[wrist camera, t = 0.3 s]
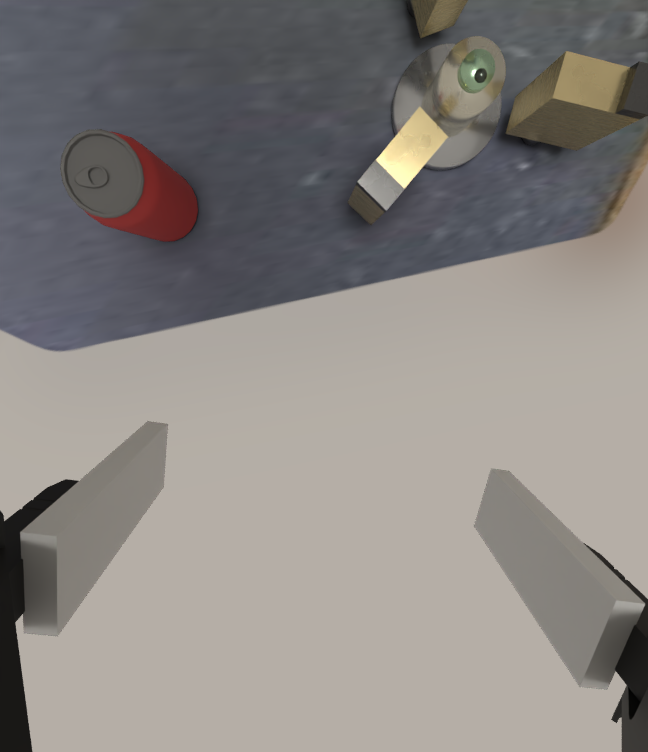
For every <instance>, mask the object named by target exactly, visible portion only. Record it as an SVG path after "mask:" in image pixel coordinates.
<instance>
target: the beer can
mask: <svg viewBox="0 0 648 752" xmlns="http://www.w3.org/2000/svg"><path fill="white" fill-rule="evenodd" d="M60 170H61V176H62V181H63V184H64V186H65V188H66V190H67V192H68V194H69V196H70V197H71V198H72V200H73V201H74V202H75V203H76V204H77V205H78V206H79V207H80V208H82V209H83V210H84V211H85V212H86V213H87V214H88V215H89V216H91V217H92V218H94V219H95V220H97V221H98V222H100V223H101V224H103V225H104V226H108V227H111V228H115V229H118V230H122V231H126V232H129V233H133V234H137V235H141V236H144V237H148V238H152V239H156V240H159V241H163V242H164V241H175V240H178V239H180V238H183V237H184V236H185V235H186V234H187V233H189V232H190V231H191V229H192V227H193V226H194V224H195V222H196V218H197V213H198V206H197V199H196V196H195V194H194V191H193V189H192V187H191V186H190V185H189V184H188V182H187V181H186V180H185V179H184V178H183V177H182V176H180V175H179V174H178V173H177V172H175V171H174V170H173V169H172V168H170V167H169V166H168V165H167V164H166V163H164V162H163V161H162V160H161V159H159V158H158V157H157V156H156V155H154V154H153V153H152V152H151V151H149V150H148V149H147V148H146V147H144V146H143V145H142V144H140V143H139V142H137V141H136V140H134V139H133V138H131V137H128V136H125V135H122V134H118V133H115V132H108V131H105V130H102V129H98V130H86V131H84V132H82V133H79V134H77V135H76V136H75V137H74V138H73V139H72V140H70V141H69V142H68V143H67V145H66V147H65V150H64V152H63V154H62V158H61V167H60Z"/></svg>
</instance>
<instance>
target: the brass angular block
mask: <svg viewBox="0 0 648 752" xmlns="http://www.w3.org/2000/svg"><path fill="white" fill-rule="evenodd" d="M646 116H648V64H647V63H643V62H638V63H636V64H635V65H633V66H632V67H626V66H622V65H618V64H614V63H610V62H606V61H603V60H599V59H595V58H591V57H587V56H583V55H579V54H576V53H572V52H568V51H566V52H565V53H564V54H563V55H561V56H560V57H559V58H558V59H557V60H556V61H555V62H554V63H553V64H551V65H550V66H549V67H548V68H547V69H546V70H545V71H544V72H543V73H541V74H540V75H539V76H538V77H537V78H536V79H535V80H534V81H533V82H531V83H530V84H529V85H528V86H527V87H526V88H525V89H524V90H523V91H522V92H520V93H519V94H518V95H517V96H516V97H515V101H514V104H513V108H512V112H511V116H510V119H509V123H508V127H507V130H506V134H509V135H513V136H518V137H522V138H526V139H530V140H534V141H539V142H543V143H547V144H551V145H555V146H560V147H564V148H568V149H572V150H576V151H577V150H579V149H581V148H583V147H585V146H587V145H589V144H591V143H593V142H595V141H597V140H599V139H601V138H603V137H605V136H607V135H609V134H611V133H613V132H615V131H617V130H619V129H621V128H623V127H625V126H627V125H630V124H632V123H634V122H636V121H638V120H640V119H642V118H644V117H646Z"/></svg>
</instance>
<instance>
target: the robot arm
mask: <svg viewBox="0 0 648 752" xmlns="http://www.w3.org/2000/svg"><path fill="white" fill-rule="evenodd" d="M167 430H168V424H164V423H156V422H149V421H148V422H146V423H145V424H144V425H143V426H142V427H141V428H140V429H138V430H137V431H136V432H135V433H134V434H133V435H131V436H130V437H129V438H128V439H127V440H126V441H125V442H123V443H122V444H121V445H120V446H119V447H118V448H117V449H115V450H114V451H113V452H112V453H111V454H110V455H109V456H107V457H106V458H105V459H104V460H103V461H102V462H101V463H99V464H98V465H97V466H96V467H95V468H93V469H92V470H91V471H90V472H89V473H88V474H87V475H85V476H84V477H83V478H82V479H81V480H80V481H74V480H63V481H61V482H59V483H57V484H54V485H52V486H50V487H48V488H46V489H45V490H44V491H42V492H41V493H40V494H39V495H37V496H36V497H35V498H34V500H31V501H30V502H28V503H27V504H26V505H25V506H23V508H22V509H20V510H18V511H17V512H16V513H14V514H13V515H12V516H11V517H9V518H8V519H7V520H6V521H4V516H3V514H2V512H1V511H0V752H32V746H31V738H30V731H29V723H28V716H27V708H26V701H25V693H24V686H23V679H22V671H21V663H20V655H19V648H18V640H17V633H16V625H15V622H16V621H17V620H18V618H19V617H20V616H21V615H22V614H23V623H24V633H28V634H38V635H48V636H58V635H59V633H60V632H61V631H62V629H63V628H64V627H65V625H66V624H67V622H68V621H69V620H70V618H71V617H72V615H73V614H74V612H75V611H76V610H77V608H78V607H79V606H80V604H81V603H82V601H83V600H84V598H85V597H86V596H87V594H88V593H89V591H90V590H91V589H92V587H93V586H94V584H95V583H96V581H97V580H98V579H99V577H100V576H101V575H102V573H103V572H104V570H105V569H106V568H107V566H108V565H109V563H110V562H111V560H112V559H113V558H114V556H115V555H116V553H117V552H118V551H119V549H120V548H121V546H122V545H123V544H124V542H125V541H126V539H127V538H128V537H129V535H130V534H131V532H132V531H133V529H134V528H135V527H136V525H137V524H138V522H139V521H140V520H141V518H142V517H143V515H144V514H145V513H146V511H147V510H148V508H149V507H150V506H151V504H152V503H153V501H154V500H155V499H156V497H157V496H158V494H159V493H160V492H161V490H162V489H163V487H164V474H165V458H166V445H167ZM474 527H475V528H476V530H477V531H478V533H479V534H480V536H481V537H482V539H483V541H484V542H485V544H486V545H487V547H488V548H489V550H490V551H491V553H492V554H493V556H494V557H495V559H496V560H497V562H498V563H499V565H500V566H501V568H502V569H503V571H504V572H505V574H506V575H507V577H508V579H509V580H510V581H511V583H512V584H513V586H514V588H515V589H516V591H517V592H518V594H519V595H520V597H521V598H522V600H523V601H524V603H525V604H526V606H527V607H528V609H529V611H530V612H531V613H532V615H533V617H534V618H535V619H536V621H537V622H538V624H539V626H540V627H541V629H542V630H543V632H544V633H545V635H546V636H547V638H548V639H549V641H550V643H551V644H552V646H553V647H554V648H555V650H556V652H557V653H558V654H559V656H560V658H561V659H562V661H563V662H564V664H565V665H566V667H567V668H568V670H569V671H570V673H571V674H572V676H573V678H574V679H575V680H576V682H577V683H578V685H579V687H586V688H596V689H608V687H609V684H610V682H611V680H612V678H613V675H614V673H615V671H616V672H617V673H618V674H619V676H620V677H621V678H622V679H623V681H624V682H625V683H626V685H627V686H626V688H625V691H624V693H623V695H622V697H621V699H620V701H619V704H618V706H617V708H616V710H615V712H614V715H613V717H612V719H611V720H613V721H614V722H616V723H617V721H618V719H619V718H620V717H622V752H648V599H647V598H646V597H645V596H644V595H643V594H642V593H641V592H640V591H639V590H638V589H636V588H635V587H634V586H633V585H632V584H631V583H630V582H629V581H628V580H625V577H624V576H623V575H622V574H621V573H620V572H619V571H618V570H616V569H614V567H613V566H612V565H611V564H610V563H609V562H608V561H607V560H606V559H605V558H604V557H603V556H602V555H600V554H599V553H598V552H596V551H595V550H593V549H592V548H590V547H589V546H587V545H586V544H584V543H582V542H581V541H580V540H579V539H578V538H577V537H576V536H575V535H574V534H573V533H572V532H571V531H570V530H569V529H568V528H567V527H566V526H565V525H564V524H563V523H562V522H561V521H560V520H559V519H558V518H557V517H556V516H555V515H554V514H553V513H552V512H551V511H550V510H548V509H547V508H546V507H545V506H544V505H543V504H542V503H541V502H540V501H539V500H538V499H537V498H536V497H535V496H534V495H533V494H532V493H531V492H530V491H529V490H528V489H527V488H526V487H525V486H524V485H523V484H522V483H521V482H520V481H519V480H518V479H517V478H516V477H515V476H514V475H513V474H511V472H509V471H506V470H499V469H491V471H490V474H489V477H488V481H487V484H486V488H485V491H484V494H483V498H482V501H481V505H480V508H479V511H478V515H477V518H476V521H475V525H474Z"/></svg>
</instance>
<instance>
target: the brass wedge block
mask: <svg viewBox="0 0 648 752" xmlns="http://www.w3.org/2000/svg"><path fill="white" fill-rule="evenodd" d="M447 138H448V136H447V135H446V134H445V133H444V132H443V131H442V130H441V129H440V128H439V126H438V125H437V124H436V123H435V122H434V121H433V120H432V119H431V118H430V117H429V116H428V115H427V114H426V113H425V111H424V110H423V109H422V108H421V107H419V108H418V109H417V110H416V112H415V113H414V114H413V115H412V117H411V118H410V119H409V120H408V121H407V123H406V124H405V125H404V126H403V128H402V129H401V130H400V131H399V132H398V134H397V135H396V136H395V137H394V139H393V140H392V141H391V142H390V144H389V145H388V146H387V147H386V148H385V150H384V151H383V152H382V153H381V155H380V156H379V157H378V158H377V160H375V161H374V162H373V163H372V165H371V166H370V167H369V168H368V169H367V171H366V172H365V173H364V174H363V176H362V177H361V178H360V179H359V181H358V182H357V184H356V186H355V188H354V190H353V192H352V194H351V197H350V199H349V201H348V204H349V205H350V206H351V207H352V208H353V209H354V210H355V211H357V212H358V213H359V214H360V215H361V216H362V217H363V218H364V219H365V220H366V221H367V222H368V223H369V224H370V225H372V224H373V223H374V222H375V221H376V220H377V219H378V218H379V217H380V216H381V215H382V214H383V213H384V212H386V211H387V209H388V208H389V207H390V206H391V205H392V203H393V202H394V201H395V200H396V199H397V198H398V196H399V195H400V194H401V193H402V192H403V190H404V189H405V188H406V186H407V185H408V184H409V183H410V182H411V180H412V179H413V178H414V177H415V176H416V174H417V173H418V172H419V171H420V170H421V169H422V167H423V166H424V165H425V164H426V163H427V161H428V160H429V159H430V158H431V157H432V155H433V154H434V153H435V152H436V151H437V149H438V148H439V147H440V146H441V145H442V144H443V142H444V141H445V140H446V139H447Z"/></svg>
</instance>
